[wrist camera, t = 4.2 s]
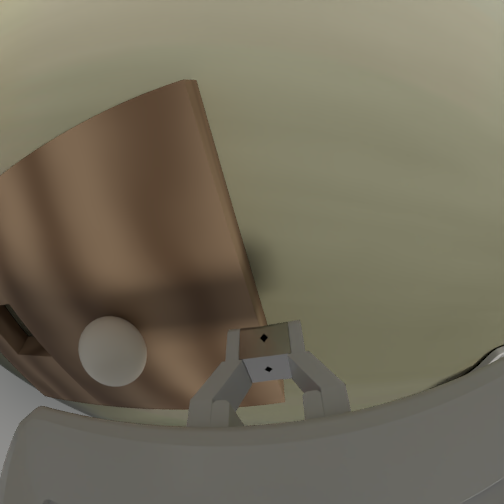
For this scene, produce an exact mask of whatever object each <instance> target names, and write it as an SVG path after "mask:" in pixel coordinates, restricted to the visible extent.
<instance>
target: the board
mask: <svg viewBox="0 0 504 504" xmlns="http://www.w3.org/2000/svg"><path fill="white" fill-rule="evenodd" d="M5 304H9V305H10V306H11V307H12V309H13V310H14V311H15V313H16V314H17V315H18V317H19V318H20V319H21V321H22V322H23V323H24V325H25V326H26V327H27V328H28V330H29V331H30V332H31V333H32V335H33V336H34V337H28V336H27V335H26V333H25V332H24V331H23V330H22V328H21V327H20V326H19V325H18V323H17V322H16V321H15V319H14V318H13V317H12V315H11V314H10V313H9V311H8V310H7V309H6V307H5V306H4V305H5ZM105 316H114V317H119V318H122V319H125V320H126V321H128V322H130V323H131V324H132V325H134V326H135V327H136V328H137V329H138V331H139V332H140V334H141V335H142V337H143V339H144V341H145V345H146V350H147V359H146V364H145V367H144V369H143V371H142V373H141V374H140V375H139V377H138V378H137V379H136V380H134V381H133V382H131V383H129V384H127V385H124V386H119V387H112V386H107V385H104V384H101V383H99V382H97V381H96V380H94V379H93V378H92V377H91V376H90V375H89V374H88V373H87V372H86V370H85V369H84V367H83V365H82V363H81V361H80V357H79V350H78V347H79V340H80V337H81V334H82V332H83V331H84V329H85V328H86V326H87V325H88V324H90V323H91V322H92V321H94V320H96V319H98V318H101V317H105ZM264 325H267V322H266V318H265V315H264V312H263V308H262V305H261V302H260V298H259V295H258V291H257V288H256V285H255V281H254V278H253V275H252V271H251V268H250V264H249V261H248V258H247V254H246V251H245V247H244V244H243V241H242V237H241V234H240V230H239V227H238V223H237V220H236V217H235V213H234V210H233V206H232V203H231V199H230V196H229V193H228V189H227V186H226V182H225V179H224V175H223V172H222V168H221V165H220V161H219V158H218V154H217V151H216V148H215V144H214V141H213V137H212V134H211V130H210V127H209V123H208V120H207V116H206V113H205V109H204V106H203V102H202V98H201V95H200V91H199V88H198V84H197V81H196V80H181V81H178V82H175V83H172V84H169V85H166V86H163V87H161V88H158V89H155V90H153V91H150V92H147V93H145V94H142V95H140V96H138V97H135V98H133V99H130V100H128V101H126V102H123V103H121V104H119V105H117V106H115V107H112V108H110V109H108V110H106V111H104V112H102V113H100V114H98V115H96V116H94V117H92V118H90V119H88V120H86V121H84V122H82V123H80V124H79V125H77V126H75V127H73V128H71V129H70V130H68V131H66V132H64V133H63V134H61V135H59V136H58V137H56V138H54V139H53V140H51V141H49V142H48V143H46V144H44V145H43V146H41V147H40V148H38V149H37V150H35V151H34V152H32V153H31V154H29V155H28V156H26V157H25V158H23V159H22V160H21V161H19V162H18V163H16V164H15V165H14V166H12V167H11V168H10V169H8V170H7V171H6V172H4V173H3V174H2V175H0V352H1V353H2V354H3V355H4V356H5V357H6V358H7V360H8V361H9V362H10V363H11V364H12V365H13V366H14V367H15V368H16V369H17V370H18V371H19V372H20V373H21V374H22V375H23V376H24V377H25V378H26V379H27V380H28V381H29V382H30V383H31V384H32V385H33V386H34V387H36V388H37V389H38V390H39V391H40V392H41V393H42V394H43V395H45V396H47V397H52V398H57V399H62V400H68V401H75V402H81V403H88V404H96V405H105V406H115V407H127V408H142V409H189V405H190V400H191V399H192V398H193V396H194V395H195V394H196V393H197V392H198V390H199V389H200V388H201V387H202V386H203V384H204V383H205V382H206V381H207V379H208V378H209V377H210V376H211V375H212V373H213V372H214V371H215V370H216V368H217V367H218V366H219V365H220V364H221V362H224V361H225V358H226V345H227V333H228V331H229V330H232V329H241V328H250V327H259V326H264ZM282 402H285V396H284V383H283V379H280V380H270V381H263V382H256V383H252V386H251V387H250V389H249V391H248V392H247V394H246V396H245V397H244V399H243V400H242V402H241V404H240V405H239V407H246V406H257V405H266V404H274V403H282Z"/></svg>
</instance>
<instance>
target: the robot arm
mask: <svg viewBox="0 0 504 504" xmlns="http://www.w3.org/2000/svg"><path fill="white" fill-rule="evenodd" d="M289 378H292V379H293V381H294V382H295V383H296V384H297V385H298V386H299V388H300V389H301V390H302V391H303V392H304V394H303V404H304V415H305V420H301V421H294V422H286V423H277V424H266V425H254V426H244V424H243V423H242V421H241V420H240V418H239V417H238V415H237V414H236V410H237V408H238V407H239V405H240V404H241V402H242V400H243V399H244V397H245V396H246V394H247V392H248V391H249V389H250V387H251V386H252V383H256V382H263V381H270V380H280V379H289ZM0 504H504V346H503V347H500V348H497V349H496V350H494V351H493V352H492V353H491V354H489V355H488V356H487V357H486V358H485V359H484V360H483V361H482V362H481V363H480V364H479V365H478V366H477V367H476V368H475V369H473V370H472V371H471V372H469V373H468V374H466V375H464V376H462V377H459V378H457V379H454V380H452V381H450V382H447V383H445V384H442V385H439V386H437V387H434V388H431V389H428V390H426V391H423V392H420V393H417V394H414V395H411V396H408V397H404V398H401V399H398V400H395V401H391V402H388V403H384V404H380V405H376V406H373V407H369V408H365V409H360V410H356V411H351V409H350V404H349V399H348V395H347V390H346V385H345V383H344V382H342V381H341V380H340V379H339V378H338V377H337V376H336V375H335V374H334V373H332V372H331V371H330V370H329V369H328V368H327V367H326V366H325V365H324V364H323V363H322V362H320V361H319V360H318V359H317V358H316V357H315V356H314V355H313V354H312V353H311V352H310V351H305V346H304V340H303V333H302V327H301V321H300V320H296V321H290V322H283V323H277V324H271V325H264V326H259V327H250V328H241V329H232V330H229V331H228V333H227V345H226V358H225V361H224V362H221V364H220V365H219V366H218V367H217V368H216V370H215V371H214V372H213V373H212V375H211V376H210V377H209V378H208V379H207V381H206V382H205V383H204V384H203V386H202V387H201V388H200V389H199V390H198V392H197V393H196V394H195V395H194V396H193V398H192V399H191V400H190V405H189V412H188V420H187V427H175V426H158V425H146V424H136V423H127V422H119V421H112V420H106V419H99V418H94V417H88V416H83V415H78V414H73V413H68V412H65V411H60V410H56V409H52V408H49V407H45V406H40V407H38V408H36V409H35V410H33V411H32V412H31V413H30V414H29V415H28V416H27V417H25V418H24V419H23V420H22V421H21V422H20V424H19V426H18V427H17V429H16V431H15V433H14V436H13V439H12V441H11V444H10V447H9V450H8V452H7V455H6V459H5V462H4V465H3V469H2V473H1V477H0Z"/></svg>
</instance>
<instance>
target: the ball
mask: <svg viewBox="0 0 504 504" xmlns="http://www.w3.org/2000/svg"><path fill="white" fill-rule="evenodd" d="M78 350H79V357H80V361H81V363H82V365H83V367H84V369H85V370H86V372H87V373H88V374H89V375H90V376H91V377H92V378H93V379H94V380H96V381H97V382H99V383H101V384H104V385H107V386H112V387H119V386H124V385H127V384H129V383H131V382H133V381H134V380H136V379H137V378H138V377H139V375H140V374H141V373H142V371H143V369H144V367H145V364H146V359H147V350H146V345H145V341H144V339H143V337H142V335H141V334H140V332H139V331H138V329H137V328H136V327H135V326H134V325H132V324H131V323H130V322H128V321H126V320H125V319H122V318H119V317H114V316H105V317H101V318H98V319H96V320H94V321H92V322H91V323H90V324H88V325H87V326H86V328H85V329H84V331H83V332H82V334H81V337H80V340H79V347H78Z"/></svg>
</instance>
